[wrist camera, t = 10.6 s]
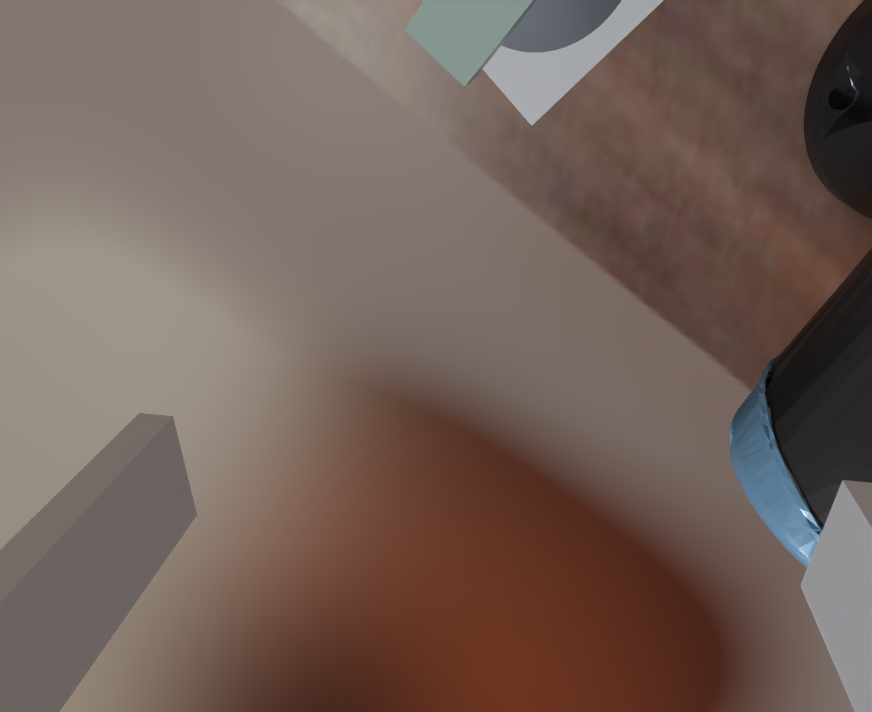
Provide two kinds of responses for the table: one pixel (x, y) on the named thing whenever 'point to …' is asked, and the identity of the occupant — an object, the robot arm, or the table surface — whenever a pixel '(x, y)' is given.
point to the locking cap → (501, 28)
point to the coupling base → (560, 62)
